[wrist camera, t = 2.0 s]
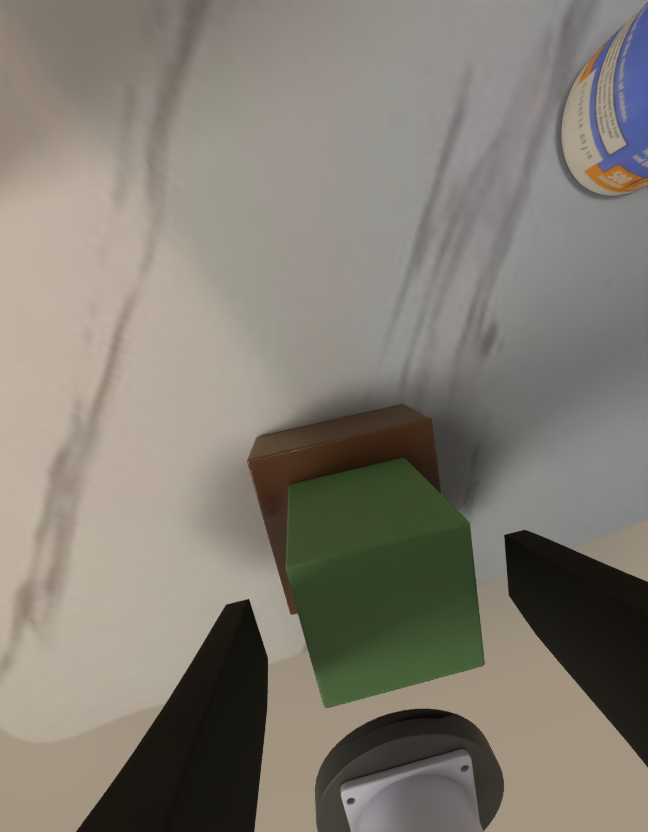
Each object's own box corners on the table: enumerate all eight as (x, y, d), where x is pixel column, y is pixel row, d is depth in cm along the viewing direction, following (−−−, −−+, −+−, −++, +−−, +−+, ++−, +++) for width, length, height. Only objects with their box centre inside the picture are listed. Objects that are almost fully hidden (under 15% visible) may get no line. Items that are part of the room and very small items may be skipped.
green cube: (419, 556, 13) (486, 667, 8) (313, 583, 12) (324, 711, 8) (404, 456, 12) (471, 521, 7) (287, 483, 11) (284, 567, 7)
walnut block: (423, 533, 16) (452, 574, 13) (291, 565, 16) (290, 616, 13) (403, 403, 14) (431, 417, 11) (256, 437, 14) (246, 460, 11)
